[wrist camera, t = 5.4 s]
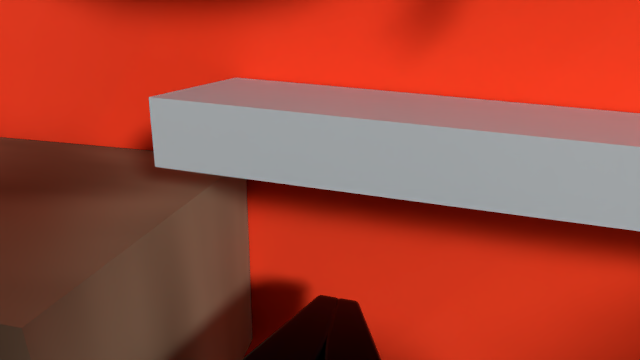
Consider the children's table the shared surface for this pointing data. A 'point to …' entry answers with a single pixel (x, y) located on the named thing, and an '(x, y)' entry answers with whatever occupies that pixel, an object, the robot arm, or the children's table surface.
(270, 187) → the children's table surface
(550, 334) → the children's table surface
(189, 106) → the channel
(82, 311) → the walnut block
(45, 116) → the children's table surface
